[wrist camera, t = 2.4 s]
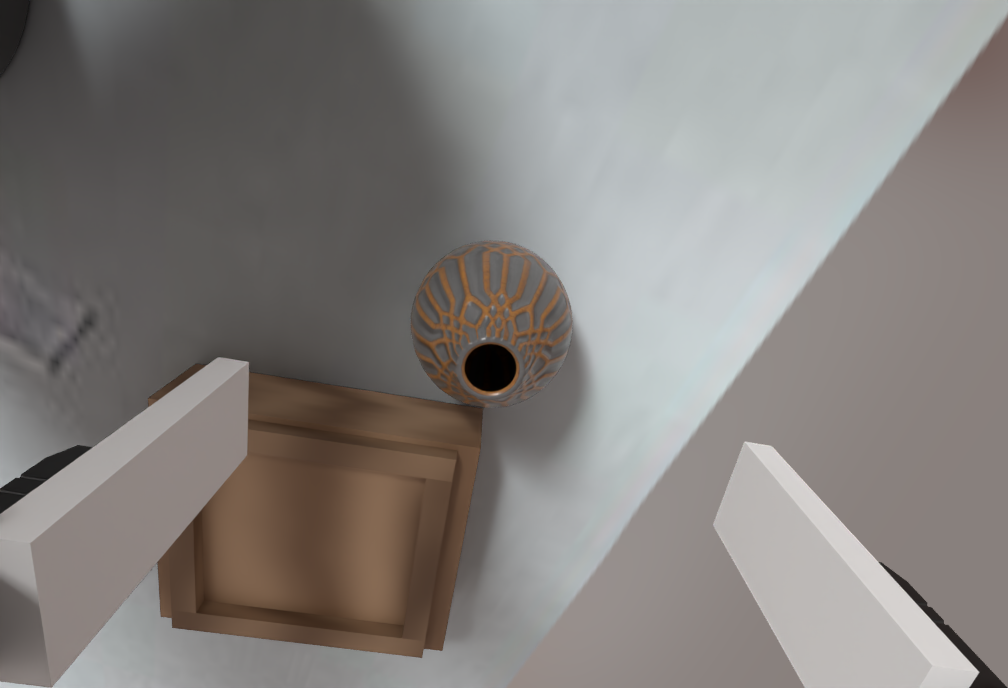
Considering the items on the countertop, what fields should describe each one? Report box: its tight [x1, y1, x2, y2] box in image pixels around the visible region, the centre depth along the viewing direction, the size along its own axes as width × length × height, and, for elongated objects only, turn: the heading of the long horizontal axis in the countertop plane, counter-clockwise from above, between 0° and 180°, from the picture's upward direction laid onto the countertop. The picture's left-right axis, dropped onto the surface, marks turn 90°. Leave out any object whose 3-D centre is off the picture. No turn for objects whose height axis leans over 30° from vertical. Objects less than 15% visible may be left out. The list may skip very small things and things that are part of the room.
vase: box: [411, 241, 573, 408], centre depth 22 cm, size 7×7×9 cm
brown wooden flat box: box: [148, 364, 483, 658], centre depth 28 cm, size 15×13×5 cm
